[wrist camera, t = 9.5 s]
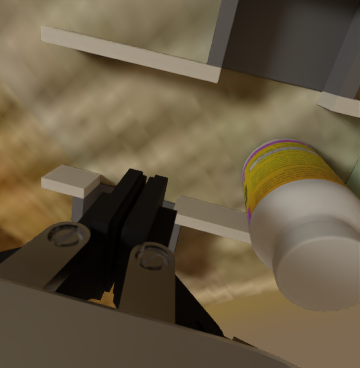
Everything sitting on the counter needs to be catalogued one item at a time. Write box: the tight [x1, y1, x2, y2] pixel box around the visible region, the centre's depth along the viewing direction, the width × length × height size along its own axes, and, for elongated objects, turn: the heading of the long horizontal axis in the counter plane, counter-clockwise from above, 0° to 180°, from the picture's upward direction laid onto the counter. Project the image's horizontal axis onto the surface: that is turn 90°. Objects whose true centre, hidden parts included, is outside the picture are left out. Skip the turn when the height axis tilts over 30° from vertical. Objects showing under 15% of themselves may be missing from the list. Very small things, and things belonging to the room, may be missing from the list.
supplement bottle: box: [242, 138, 360, 312], centre depth 19 cm, size 7×7×13 cm
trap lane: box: [41, 0, 360, 254], centre depth 22 cm, size 27×27×5 cm
